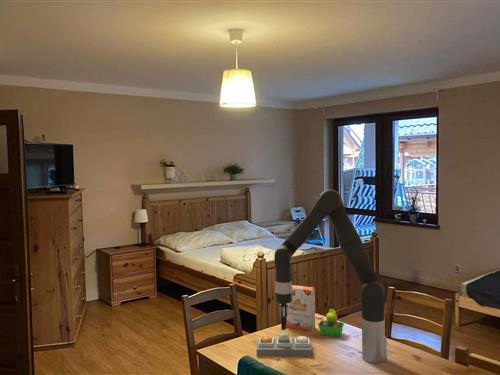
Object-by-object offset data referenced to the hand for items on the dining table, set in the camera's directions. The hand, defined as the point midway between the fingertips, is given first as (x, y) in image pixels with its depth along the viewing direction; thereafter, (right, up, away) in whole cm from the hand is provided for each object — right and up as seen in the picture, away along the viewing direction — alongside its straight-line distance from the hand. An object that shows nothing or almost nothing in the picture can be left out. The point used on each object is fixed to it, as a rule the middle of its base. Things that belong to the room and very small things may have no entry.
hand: (283, 329), depth 197 cm
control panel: (0, -10, 0) cm, 10 cm away
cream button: (+8, -6, -1) cm, 10 cm away
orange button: (-8, -6, 0) cm, 10 cm away
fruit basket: (+25, -8, +19) cm, 32 cm away
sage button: (0, -4, 0) cm, 4 cm away
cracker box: (+11, -8, +27) cm, 30 cm away
